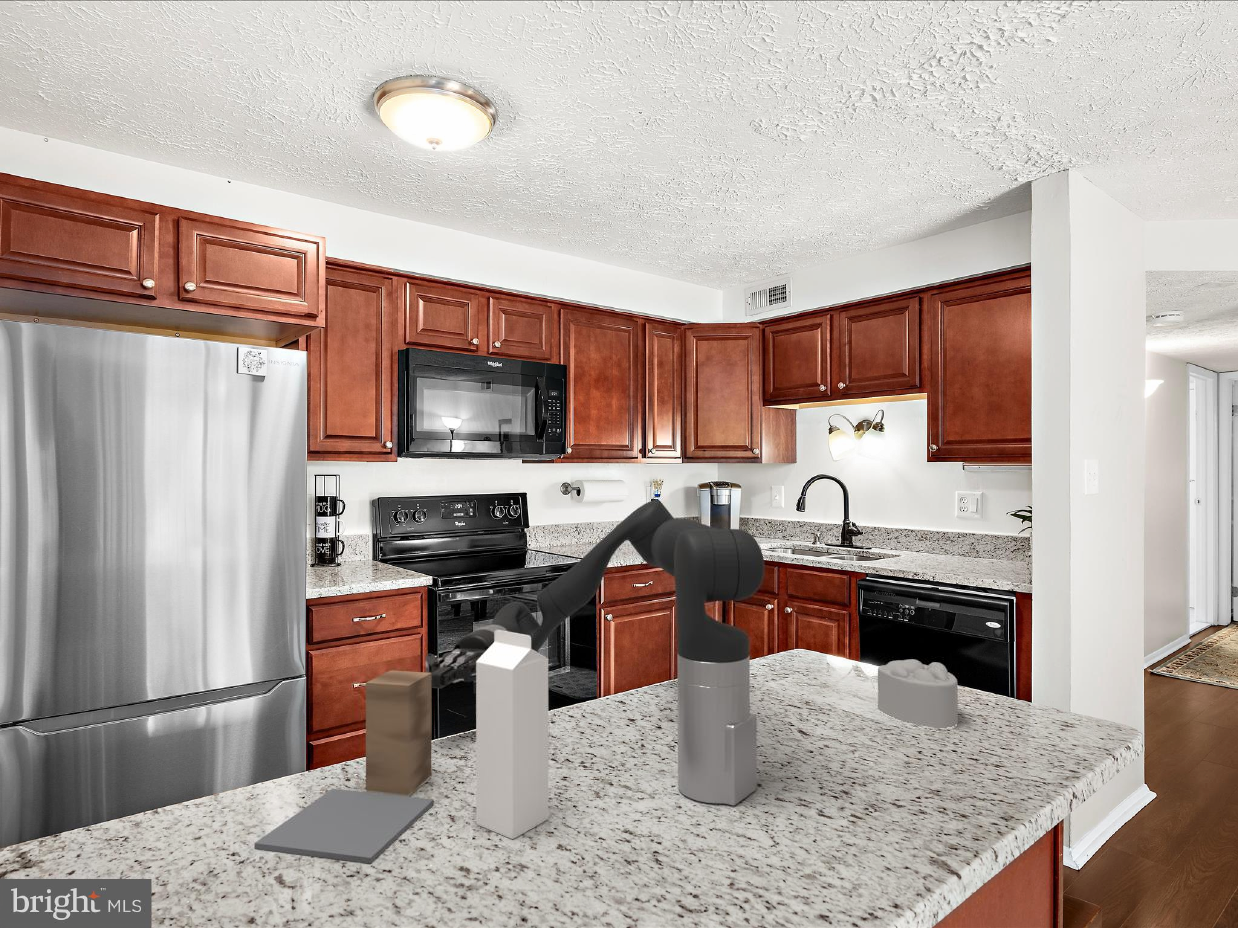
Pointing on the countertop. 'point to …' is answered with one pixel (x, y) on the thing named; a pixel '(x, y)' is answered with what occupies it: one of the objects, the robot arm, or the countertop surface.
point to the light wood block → (398, 732)
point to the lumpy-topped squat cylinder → (918, 693)
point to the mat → (346, 825)
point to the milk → (511, 736)
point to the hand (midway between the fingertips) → (435, 681)
